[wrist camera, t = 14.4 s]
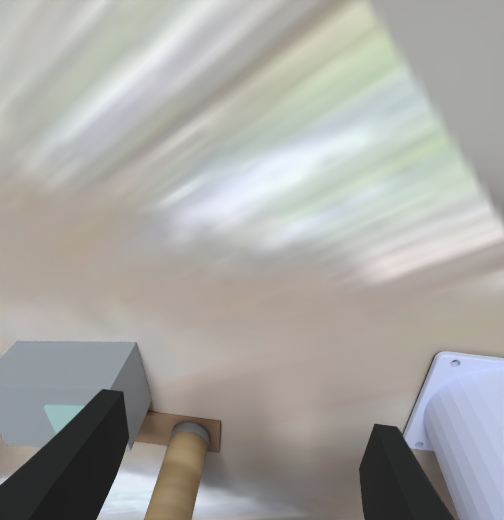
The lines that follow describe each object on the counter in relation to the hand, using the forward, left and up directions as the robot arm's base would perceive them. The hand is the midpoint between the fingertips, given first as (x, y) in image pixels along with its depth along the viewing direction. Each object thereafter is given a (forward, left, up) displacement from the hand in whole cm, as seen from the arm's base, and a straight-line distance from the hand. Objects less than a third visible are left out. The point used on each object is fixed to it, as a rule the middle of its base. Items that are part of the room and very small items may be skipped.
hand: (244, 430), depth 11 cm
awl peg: (+4, +14, -10) cm, 17 cm away
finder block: (+11, +9, -10) cm, 18 cm away
